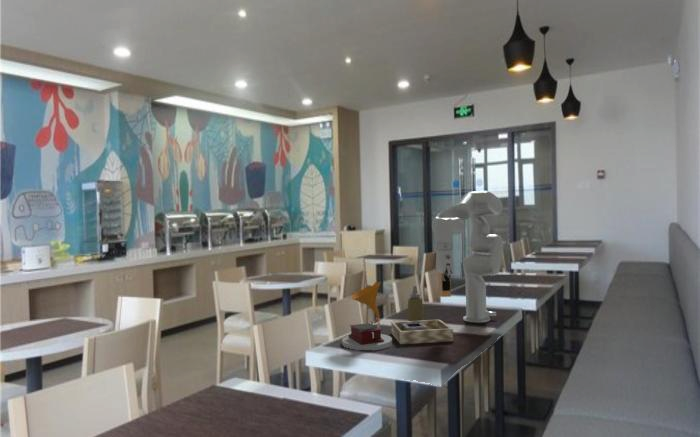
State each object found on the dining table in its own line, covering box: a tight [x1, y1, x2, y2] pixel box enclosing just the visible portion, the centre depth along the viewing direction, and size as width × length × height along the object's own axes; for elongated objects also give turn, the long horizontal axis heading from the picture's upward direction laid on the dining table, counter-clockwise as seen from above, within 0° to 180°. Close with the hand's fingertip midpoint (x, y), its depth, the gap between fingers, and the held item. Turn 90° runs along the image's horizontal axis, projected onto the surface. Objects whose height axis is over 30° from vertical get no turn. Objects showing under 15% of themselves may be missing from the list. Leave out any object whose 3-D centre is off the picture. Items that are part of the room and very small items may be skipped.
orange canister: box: [437, 272, 452, 298], centre depth 208 cm, size 4×4×11 cm
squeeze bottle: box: [406, 285, 425, 321], centre depth 232 cm, size 8×8×18 cm
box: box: [390, 319, 454, 345], centre depth 207 cm, size 22×18×5 cm
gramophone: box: [341, 281, 393, 351], centre depth 199 cm, size 20×20×25 cm
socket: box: [401, 322, 427, 331], centre depth 206 cm, size 9×9×4 cm
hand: (444, 289), depth 208 cm, fingers closed on orange canister, 4 cm apart
